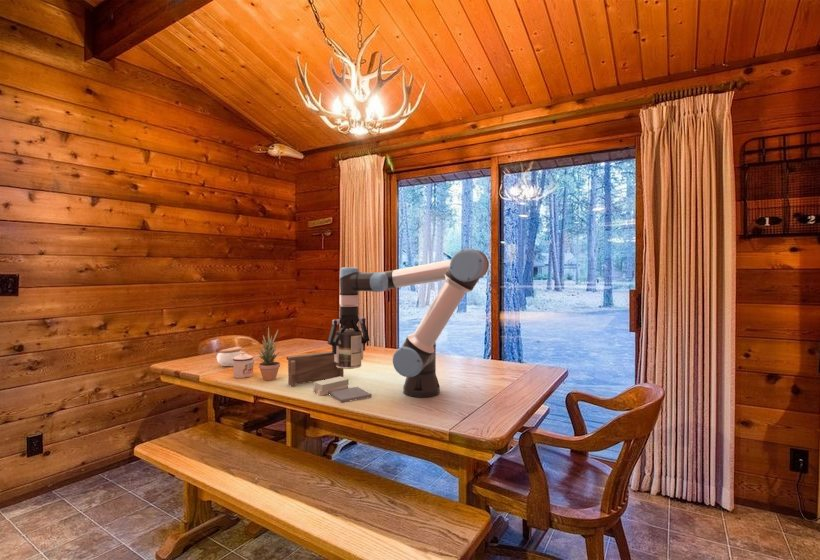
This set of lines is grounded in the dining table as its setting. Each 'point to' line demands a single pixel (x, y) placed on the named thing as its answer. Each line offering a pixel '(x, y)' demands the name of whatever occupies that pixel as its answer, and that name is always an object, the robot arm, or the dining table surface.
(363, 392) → the slate mat
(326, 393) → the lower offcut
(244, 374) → the teacup with lid
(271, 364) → the potted plant
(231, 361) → the lidded bowl
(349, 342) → the coffee can
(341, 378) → the upper offcut
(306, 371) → the walnut rack
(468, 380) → the dining table surface
